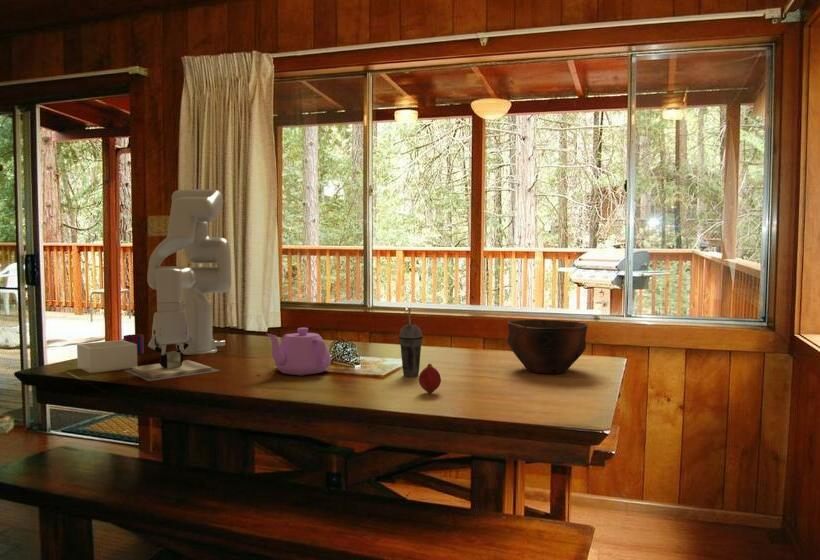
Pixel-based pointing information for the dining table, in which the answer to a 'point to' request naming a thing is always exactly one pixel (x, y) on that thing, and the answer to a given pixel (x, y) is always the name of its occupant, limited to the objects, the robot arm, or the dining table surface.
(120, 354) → the basin
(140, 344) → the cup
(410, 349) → the beverage cup
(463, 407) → the dining table surface
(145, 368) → the lid
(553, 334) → the bowl
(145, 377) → the mat
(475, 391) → the dining table surface
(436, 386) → the onion
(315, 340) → the teapot
